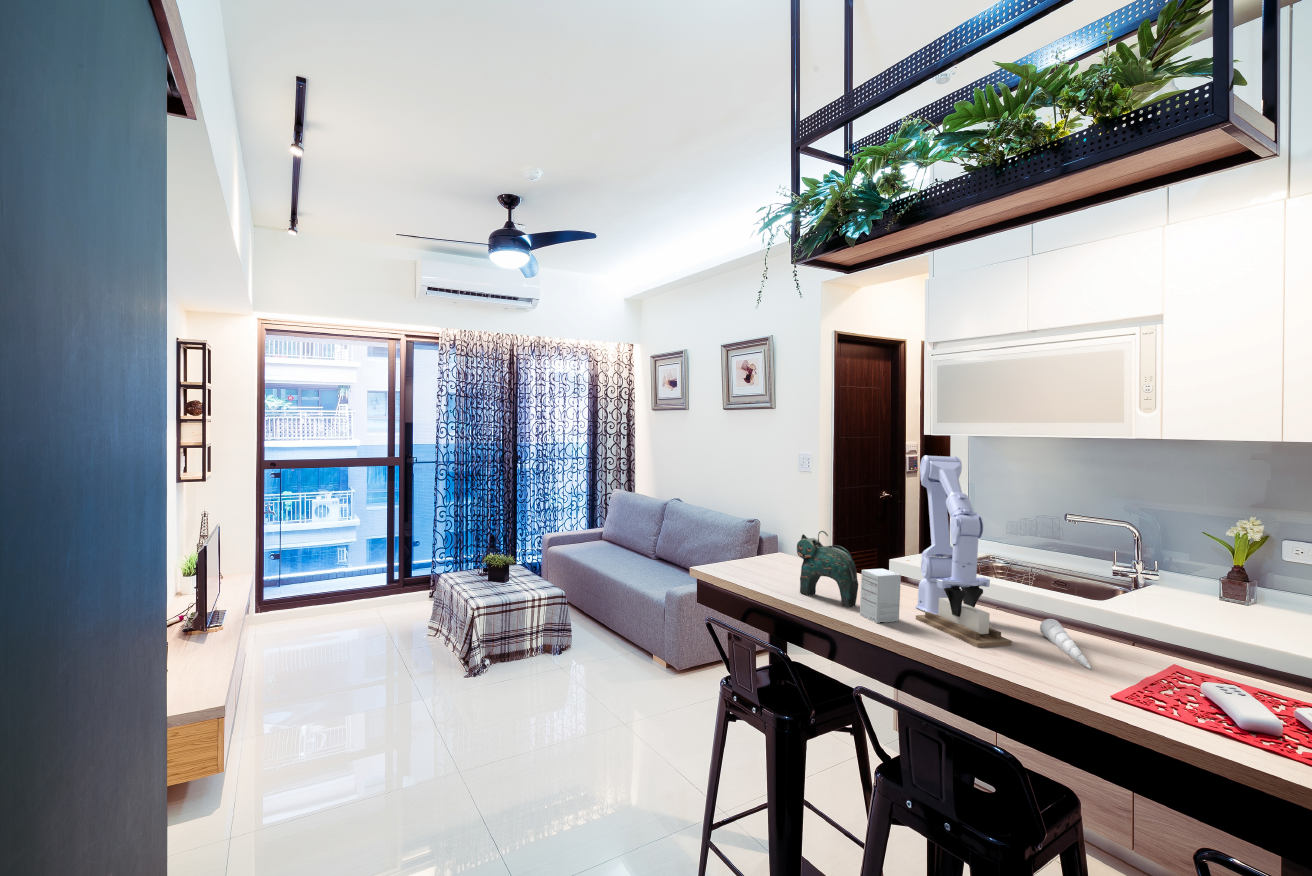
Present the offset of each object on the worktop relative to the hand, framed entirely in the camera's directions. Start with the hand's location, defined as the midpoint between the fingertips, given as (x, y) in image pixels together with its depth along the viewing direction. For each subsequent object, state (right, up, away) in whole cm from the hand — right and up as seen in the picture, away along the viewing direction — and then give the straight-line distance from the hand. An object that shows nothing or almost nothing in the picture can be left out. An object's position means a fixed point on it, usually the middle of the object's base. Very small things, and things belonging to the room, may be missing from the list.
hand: (961, 615), depth 162 cm
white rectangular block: (0, -2, 0) cm, 2 cm away
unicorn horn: (+20, -6, -11) cm, 23 cm away
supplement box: (-18, -3, +8) cm, 20 cm away
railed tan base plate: (0, -4, 0) cm, 4 cm away
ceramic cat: (-28, -3, +26) cm, 38 cm away
